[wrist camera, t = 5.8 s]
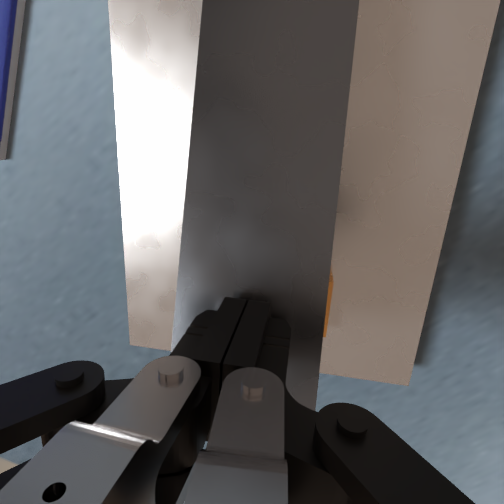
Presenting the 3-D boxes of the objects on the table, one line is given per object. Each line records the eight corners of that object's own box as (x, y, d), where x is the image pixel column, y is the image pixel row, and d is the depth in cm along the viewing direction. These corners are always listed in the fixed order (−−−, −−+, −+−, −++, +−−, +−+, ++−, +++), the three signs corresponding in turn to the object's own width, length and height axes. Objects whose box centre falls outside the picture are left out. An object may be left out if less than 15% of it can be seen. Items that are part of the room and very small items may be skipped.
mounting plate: (122, -154, 15) (38, -284, 11) (520, -178, 13) (636, -352, 8) (144, 327, 23) (101, 376, 18) (399, 363, 21) (425, 429, 16)
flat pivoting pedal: (228, -138, 13) (216, -200, 11) (371, -145, 12) (383, -213, 10) (181, 376, 13) (162, 396, 12) (313, 396, 13) (315, 422, 11)
